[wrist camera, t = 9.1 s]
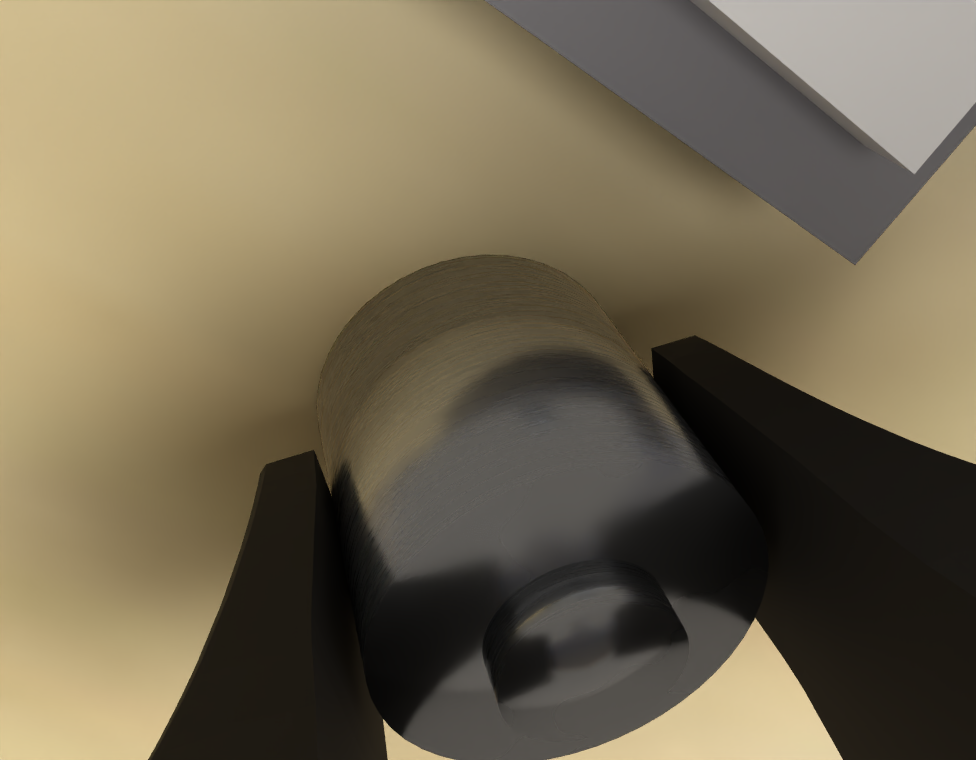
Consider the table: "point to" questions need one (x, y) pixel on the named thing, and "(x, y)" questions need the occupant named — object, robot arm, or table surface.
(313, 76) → the table surface
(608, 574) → the cylinder
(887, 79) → the scale
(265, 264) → the table surface
